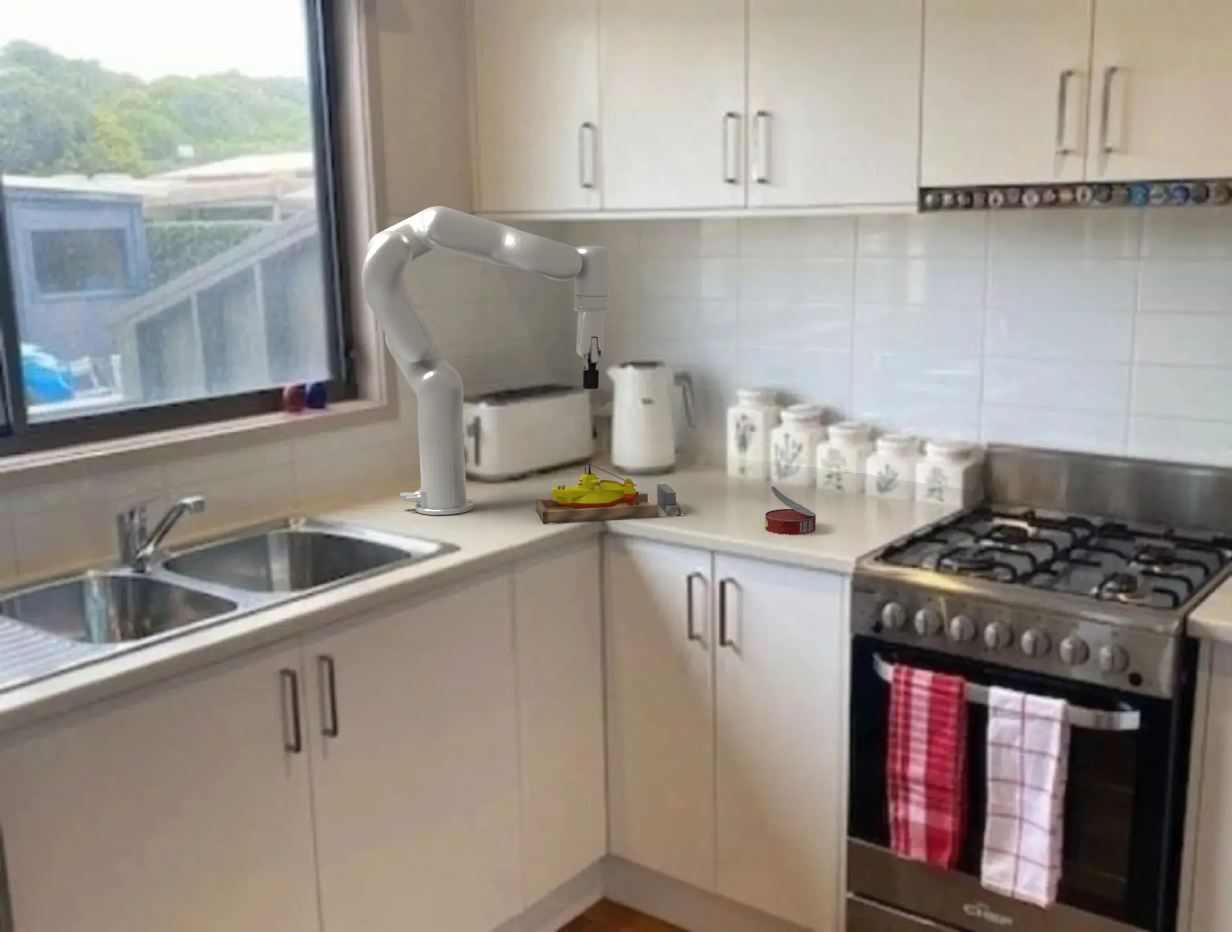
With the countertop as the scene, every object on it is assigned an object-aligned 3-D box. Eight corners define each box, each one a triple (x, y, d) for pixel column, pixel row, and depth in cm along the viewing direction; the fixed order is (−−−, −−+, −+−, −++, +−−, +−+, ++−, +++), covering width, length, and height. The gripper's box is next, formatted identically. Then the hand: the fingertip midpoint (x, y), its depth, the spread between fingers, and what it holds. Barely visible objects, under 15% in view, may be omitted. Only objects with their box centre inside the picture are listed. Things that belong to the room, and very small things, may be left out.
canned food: (780, 545, 243) (791, 498, 245) (821, 548, 236) (832, 500, 238) (747, 528, 236) (758, 480, 238) (788, 531, 228) (799, 481, 231)
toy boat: (639, 512, 249) (638, 465, 248) (552, 514, 249) (550, 467, 247) (638, 505, 256) (637, 459, 254) (553, 507, 256) (551, 461, 254)
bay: (543, 524, 245) (542, 512, 244) (531, 502, 265) (531, 491, 264) (684, 515, 250) (684, 503, 249) (663, 494, 270) (663, 483, 269)
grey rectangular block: (666, 514, 251) (666, 493, 250) (657, 504, 259) (657, 484, 258) (676, 513, 251) (675, 492, 250) (666, 504, 260) (666, 483, 259)
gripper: (570, 302, 268) (569, 384, 271) (578, 305, 253) (577, 392, 257) (603, 302, 269) (602, 384, 272) (614, 306, 254) (612, 392, 258)
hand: (590, 388), depth 264 cm, fingers closed
